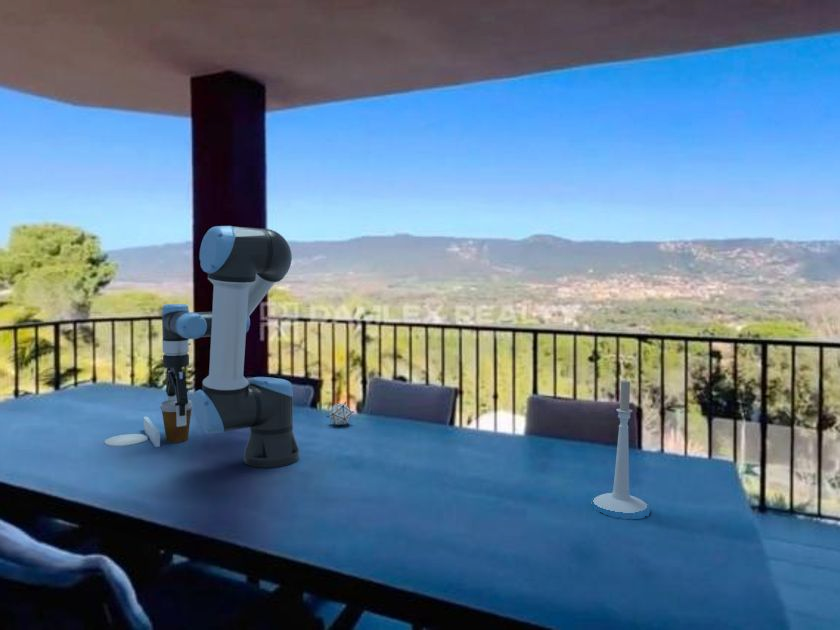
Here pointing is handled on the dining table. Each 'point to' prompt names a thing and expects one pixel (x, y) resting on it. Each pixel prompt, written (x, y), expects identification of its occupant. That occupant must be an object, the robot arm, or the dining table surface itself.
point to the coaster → (126, 440)
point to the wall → (152, 432)
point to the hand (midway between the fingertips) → (176, 421)
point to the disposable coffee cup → (175, 421)
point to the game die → (340, 414)
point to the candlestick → (621, 465)
